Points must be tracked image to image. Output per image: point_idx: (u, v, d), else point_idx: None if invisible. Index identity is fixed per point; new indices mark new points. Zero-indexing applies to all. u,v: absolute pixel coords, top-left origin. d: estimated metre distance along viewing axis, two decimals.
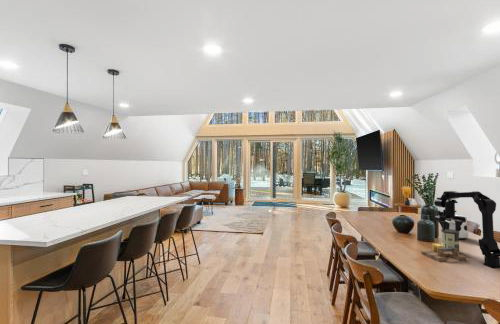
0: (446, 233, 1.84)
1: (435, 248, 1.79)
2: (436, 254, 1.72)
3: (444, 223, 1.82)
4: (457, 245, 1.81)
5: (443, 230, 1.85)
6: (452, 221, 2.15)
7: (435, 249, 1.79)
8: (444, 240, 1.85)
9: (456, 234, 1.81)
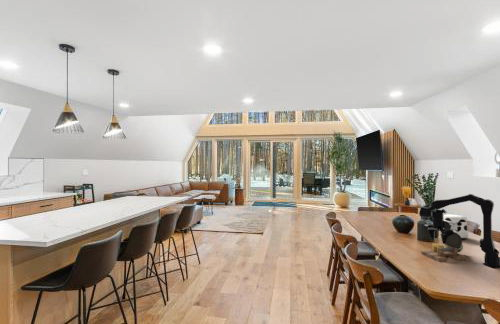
0: (445, 243, 1.76)
1: (435, 248, 1.79)
2: (436, 254, 1.72)
3: (427, 231, 1.83)
4: None
5: (432, 239, 1.82)
6: (452, 221, 2.15)
7: (435, 249, 1.79)
8: None
9: (455, 247, 1.72)
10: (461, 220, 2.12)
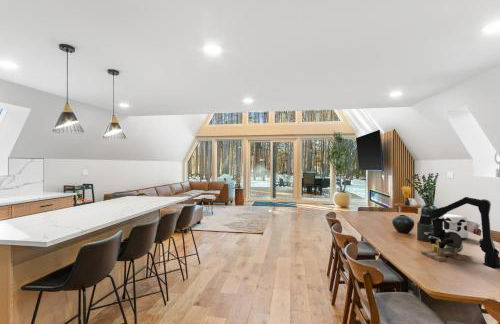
0: None
1: (435, 248, 1.79)
2: (436, 254, 1.72)
3: (429, 240, 1.81)
4: None
5: None
6: (452, 221, 2.15)
7: (435, 249, 1.79)
8: None
9: (455, 247, 1.72)
10: (461, 220, 2.12)
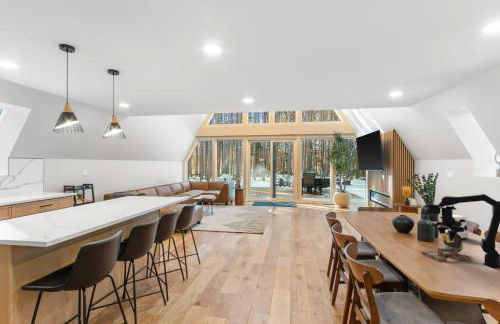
0: (445, 243, 1.76)
1: (444, 238, 1.71)
2: (436, 254, 1.72)
3: (438, 229, 1.74)
4: None
5: None
6: None
7: (444, 239, 1.71)
8: (444, 244, 1.80)
9: (455, 247, 1.72)
10: (461, 220, 2.12)
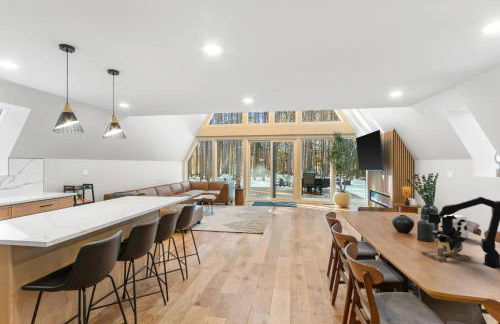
0: None
1: (444, 247, 1.71)
2: (436, 254, 1.72)
3: (438, 238, 1.74)
4: None
5: None
6: None
7: None
8: None
9: (455, 247, 1.72)
10: (461, 220, 2.12)
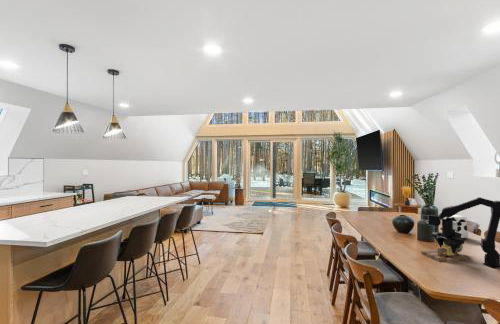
0: (445, 243, 1.76)
1: None
2: (436, 254, 1.72)
3: (436, 239, 1.75)
4: None
5: None
6: None
7: (444, 251, 1.71)
8: (444, 244, 1.80)
9: None
10: (461, 220, 2.12)
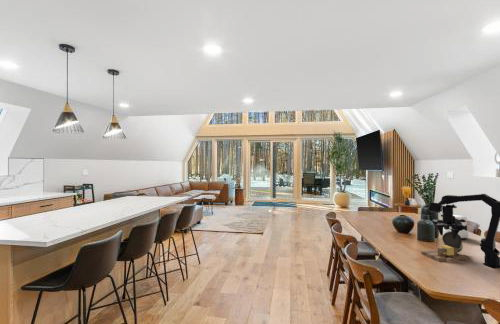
0: (445, 243, 1.76)
1: None
2: (436, 254, 1.72)
3: (436, 226, 1.81)
4: None
5: (441, 234, 1.80)
6: None
7: (444, 251, 1.71)
8: (444, 244, 1.80)
9: (455, 247, 1.72)
10: (461, 220, 2.12)
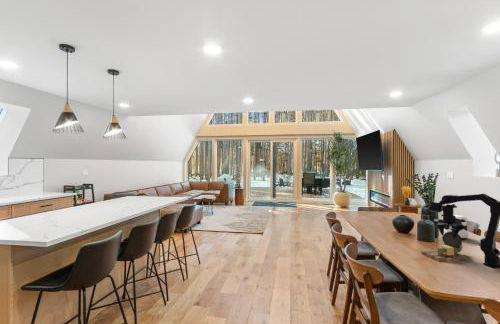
0: (445, 243, 1.76)
1: None
2: (436, 254, 1.72)
3: (437, 226, 1.82)
4: None
5: (442, 234, 1.81)
6: None
7: (444, 251, 1.71)
8: (444, 244, 1.80)
9: (455, 247, 1.72)
10: None
